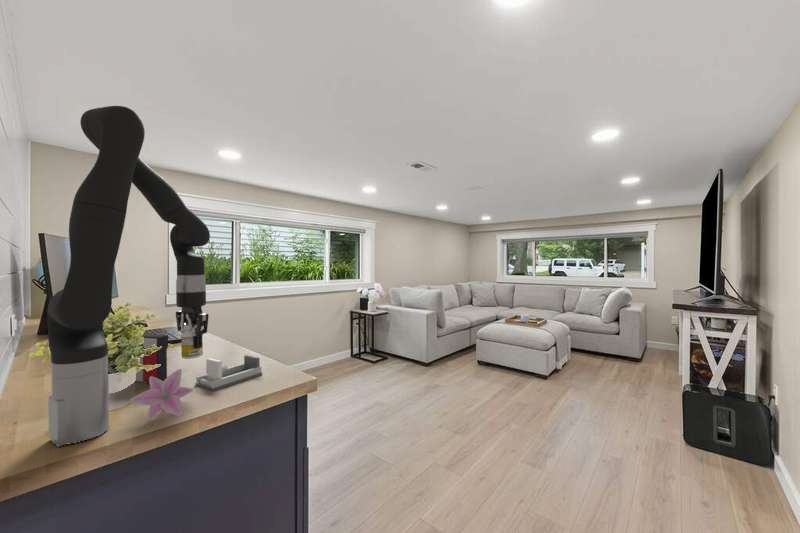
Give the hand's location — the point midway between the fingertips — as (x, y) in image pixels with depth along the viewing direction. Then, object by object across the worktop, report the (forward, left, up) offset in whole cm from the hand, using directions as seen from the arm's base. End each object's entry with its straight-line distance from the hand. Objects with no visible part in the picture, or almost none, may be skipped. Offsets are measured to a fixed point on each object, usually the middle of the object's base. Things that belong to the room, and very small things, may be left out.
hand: (192, 346), depth 101 cm
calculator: (-3, +21, -14) cm, 25 cm away
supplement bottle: (0, 0, -3) cm, 3 cm away
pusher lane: (+12, 0, -13) cm, 18 cm away
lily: (-11, -8, -14) cm, 20 cm away
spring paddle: (+8, 0, -13) cm, 15 cm away
